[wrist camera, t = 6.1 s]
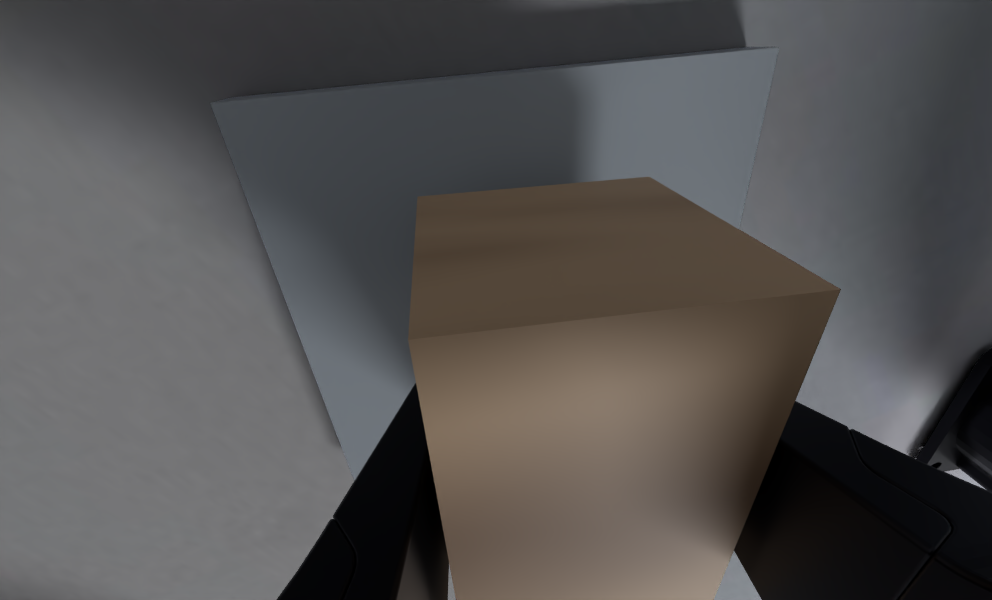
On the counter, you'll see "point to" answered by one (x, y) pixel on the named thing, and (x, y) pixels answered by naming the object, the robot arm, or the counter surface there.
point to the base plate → (462, 184)
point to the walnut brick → (601, 385)
